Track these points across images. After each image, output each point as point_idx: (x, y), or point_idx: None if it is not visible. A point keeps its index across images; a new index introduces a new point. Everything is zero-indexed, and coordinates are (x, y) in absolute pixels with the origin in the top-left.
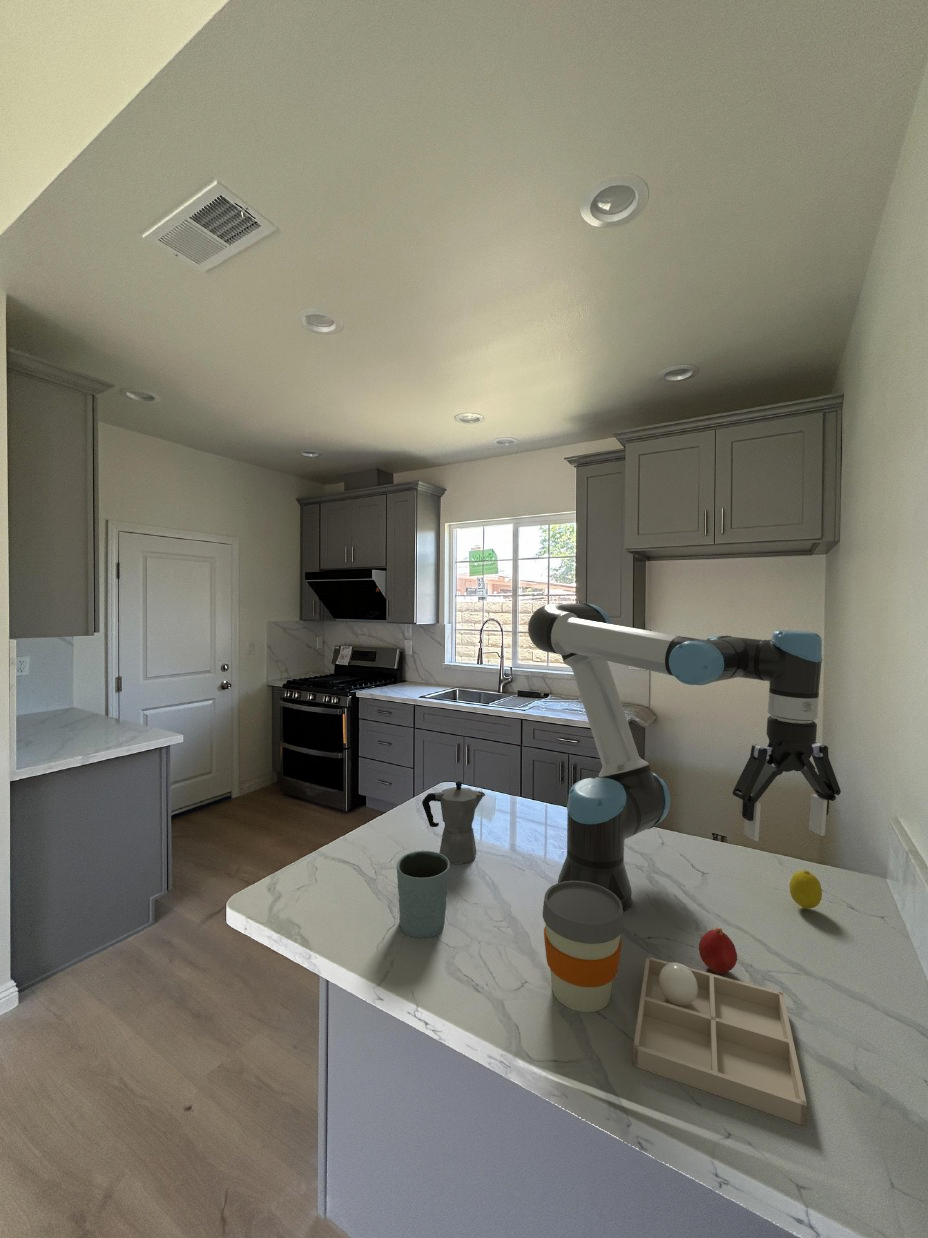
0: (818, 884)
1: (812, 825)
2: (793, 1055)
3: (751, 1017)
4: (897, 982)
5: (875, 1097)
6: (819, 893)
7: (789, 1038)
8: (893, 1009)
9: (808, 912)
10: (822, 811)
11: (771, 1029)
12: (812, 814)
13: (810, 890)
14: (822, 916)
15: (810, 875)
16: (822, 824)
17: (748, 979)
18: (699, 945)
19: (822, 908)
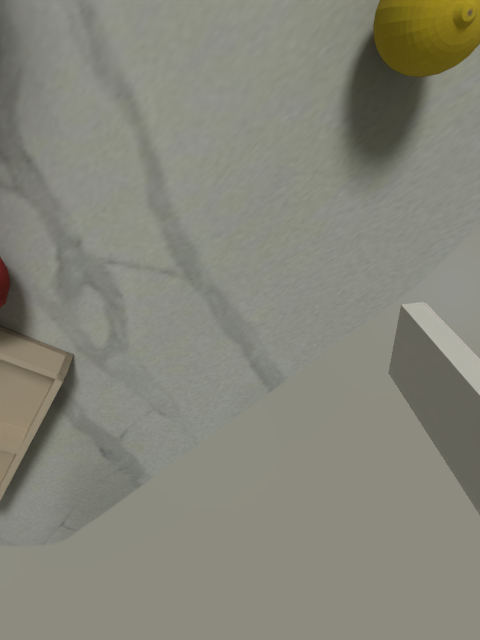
0: (458, 62)
1: (412, 344)
2: (11, 470)
3: (3, 371)
4: (345, 307)
5: (117, 464)
6: (438, 73)
7: (21, 449)
8: (274, 357)
9: None
10: (463, 481)
11: (27, 392)
12: (448, 385)
13: (412, 69)
14: None
15: (461, 36)
16: (419, 419)
17: (50, 281)
18: None
19: None
